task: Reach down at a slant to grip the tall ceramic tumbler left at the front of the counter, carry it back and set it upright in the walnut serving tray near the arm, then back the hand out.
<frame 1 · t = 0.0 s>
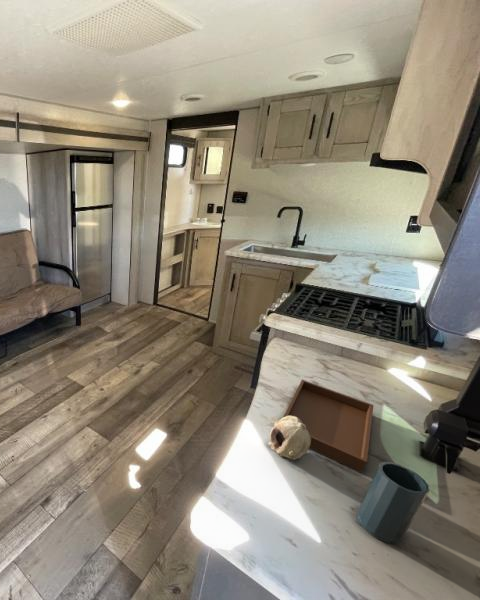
tumbler: (378, 526, 63), on the counter
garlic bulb: (285, 452, 79), on the counter
tray: (325, 423, 89), on the counter
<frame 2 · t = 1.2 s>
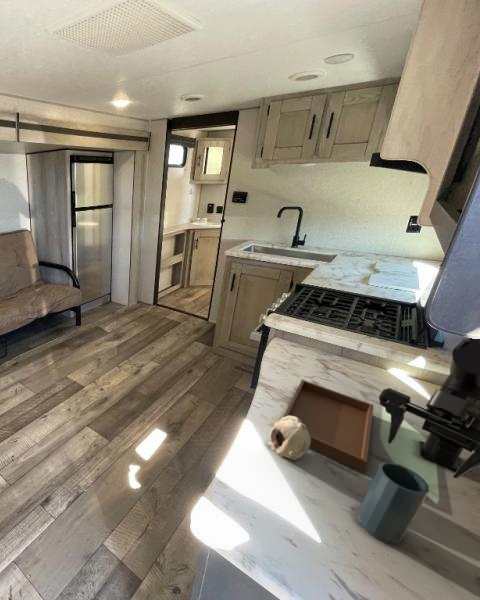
hand: (419, 459, 61), 13 cm above the counter, tool tilted 45°, fingers open, 9 cm apart
nothing on the counter moved.
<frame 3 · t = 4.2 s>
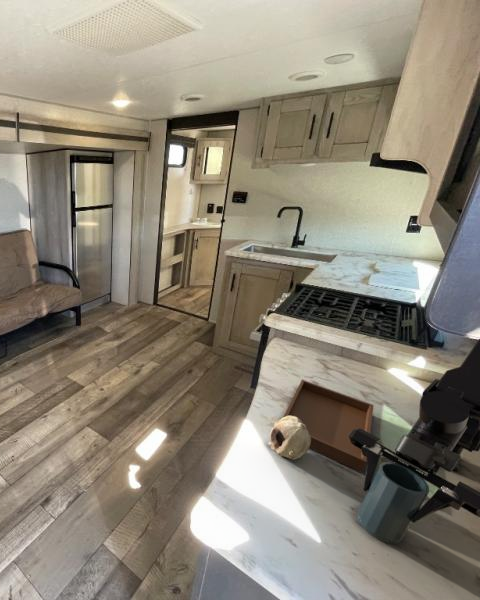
hand: (387, 505, 60), 7 cm above the counter, tool tilted 45°, fingers closed on tumbler, 7 cm apart
tumbler: (378, 526, 63), on the counter, touching gripper
everything else where it was.
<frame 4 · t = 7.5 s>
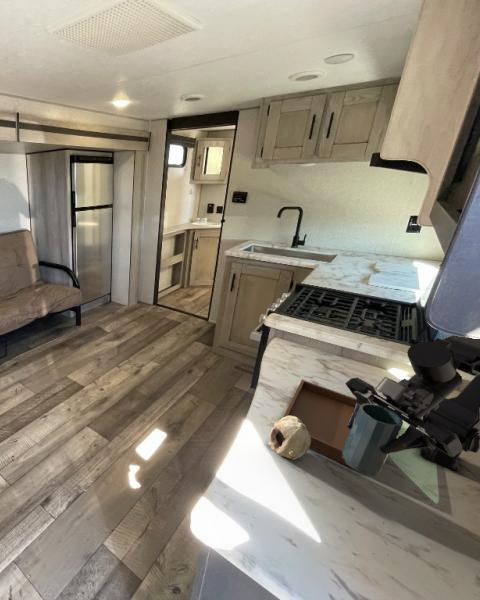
hand: (364, 439, 67), 12 cm above the counter, tool tilted 45°, fingers closed on tumbler, 7 cm apart
tumbler: (359, 462, 70), point 6 cm above the counter, touching gripper
everything else where it was.
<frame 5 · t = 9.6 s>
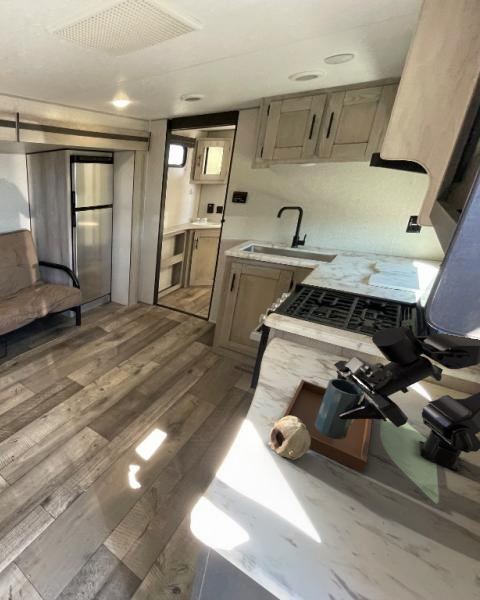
hand: (331, 407, 79), 11 cm above the counter, tool tilted 45°, fingers closed on tumbler, 7 cm apart
tumbler: (330, 429, 81), point 4 cm above the counter, touching gripper
everything else where it was.
when the fingers open (7 cm above the counter, at t = 11.2 s): tumbler stays where it is, resting on tray.
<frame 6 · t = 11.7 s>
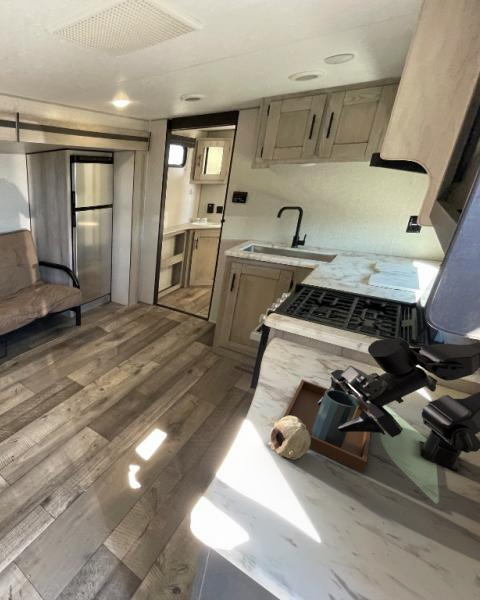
hand: (328, 416, 80), 8 cm above the counter, tool tilted 45°, fingers open, 9 cm apart
tumbler: (325, 439, 82), point 1 cm above the counter, touching tray
everything else where it was.
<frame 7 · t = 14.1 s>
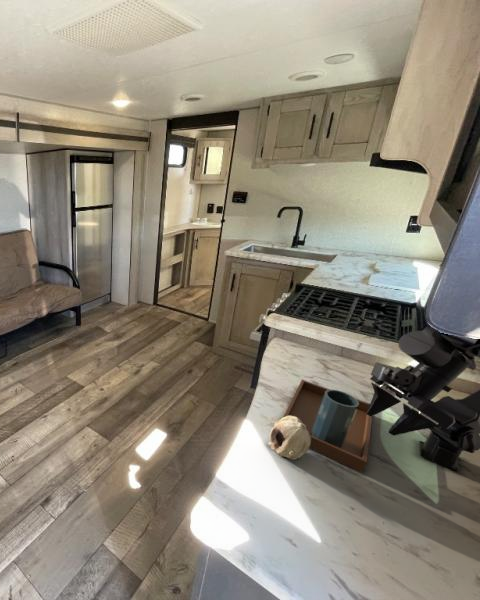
hand: (378, 423, 74), 11 cm above the counter, tool tilted 30°, fingers open, 9 cm apart
nothing on the counter moved.
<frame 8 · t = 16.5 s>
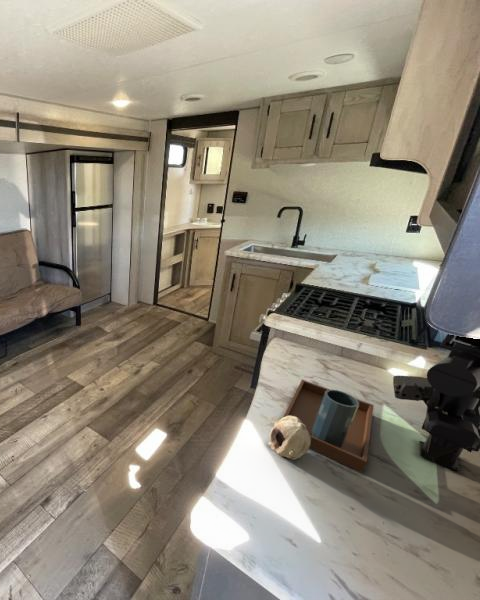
hand: (429, 443, 66), 13 cm above the counter, tool pointing down, fingers open, 9 cm apart
nothing on the counter moved.
at the end: tumbler inside the target area in the tray (8.6 cm from its centre), point 0.8 cm above the tray's base; tumbler tilted 0°; the gripper is holding nothing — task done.
